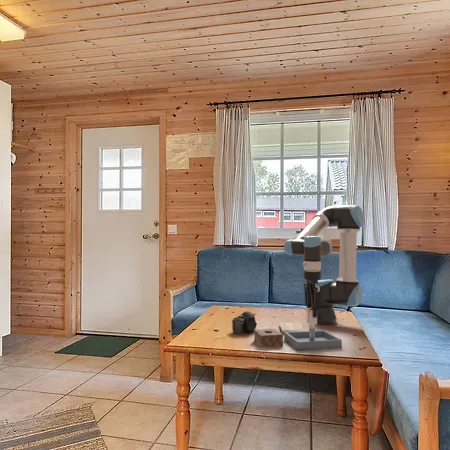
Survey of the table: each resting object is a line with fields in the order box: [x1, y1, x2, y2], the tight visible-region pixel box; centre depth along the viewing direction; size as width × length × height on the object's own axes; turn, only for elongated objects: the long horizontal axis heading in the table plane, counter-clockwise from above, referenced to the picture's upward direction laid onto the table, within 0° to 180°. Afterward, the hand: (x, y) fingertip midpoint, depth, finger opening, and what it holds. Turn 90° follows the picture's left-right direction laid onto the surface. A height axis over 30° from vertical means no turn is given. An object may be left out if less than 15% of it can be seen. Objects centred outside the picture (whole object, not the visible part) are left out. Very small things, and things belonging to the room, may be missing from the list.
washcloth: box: [279, 321, 306, 335], centre depth 188 cm, size 12×18×3 cm, turn 177°
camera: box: [231, 310, 258, 336], centre depth 184 cm, size 13×10×10 cm
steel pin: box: [308, 310, 316, 341], centre depth 165 cm, size 2×2×14 cm
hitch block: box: [253, 328, 284, 348], centre depth 164 cm, size 10×10×5 cm
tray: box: [283, 329, 343, 352], centre depth 164 cm, size 20×16×4 cm
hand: (312, 323), depth 165 cm, fingers open, 3 cm apart
